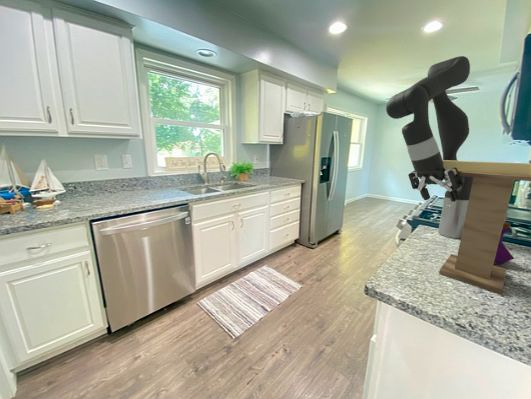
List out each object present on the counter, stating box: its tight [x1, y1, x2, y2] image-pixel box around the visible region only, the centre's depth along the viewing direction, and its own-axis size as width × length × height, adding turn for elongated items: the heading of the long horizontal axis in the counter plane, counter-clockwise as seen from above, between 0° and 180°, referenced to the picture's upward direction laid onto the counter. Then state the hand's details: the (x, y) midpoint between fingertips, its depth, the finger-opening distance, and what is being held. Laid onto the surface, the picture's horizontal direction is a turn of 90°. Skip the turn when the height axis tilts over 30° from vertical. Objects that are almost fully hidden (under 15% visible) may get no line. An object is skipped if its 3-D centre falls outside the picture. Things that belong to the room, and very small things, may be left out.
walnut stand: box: [438, 172, 531, 295], centre depth 69 cm, size 16×14×32 cm
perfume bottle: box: [494, 211, 515, 265], centre depth 79 cm, size 8×8×18 cm
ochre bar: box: [442, 159, 531, 176], centre depth 68 cm, size 3×22×3 cm, turn 42°
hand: (440, 199), depth 73 cm, fingers open, 8 cm apart
